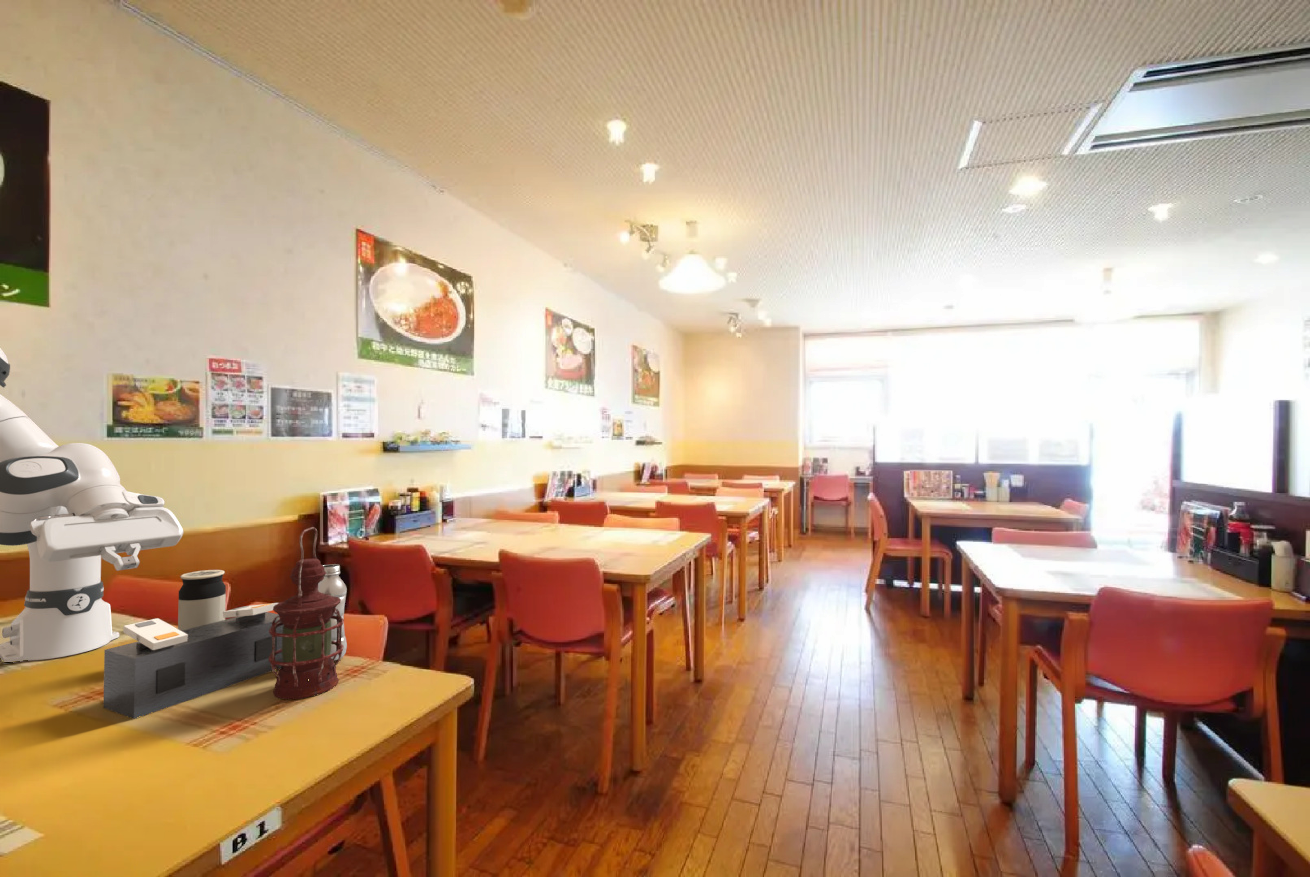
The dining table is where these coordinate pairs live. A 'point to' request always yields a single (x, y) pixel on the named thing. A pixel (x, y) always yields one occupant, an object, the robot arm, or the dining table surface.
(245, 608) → the block
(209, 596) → the travel mug
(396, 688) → the dining table surface
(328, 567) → the silver tall rounded piece
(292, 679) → the lantern
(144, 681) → the switch box
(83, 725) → the dining table surface
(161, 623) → the rocker on
